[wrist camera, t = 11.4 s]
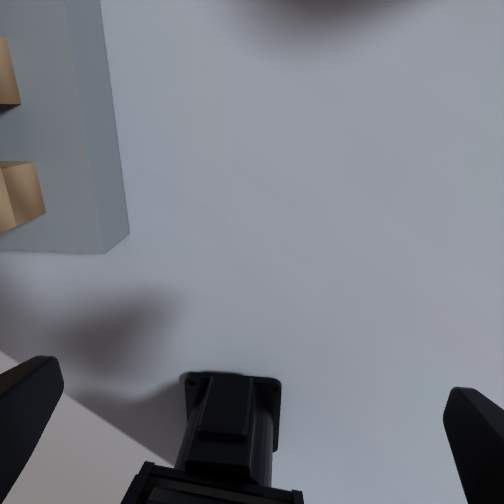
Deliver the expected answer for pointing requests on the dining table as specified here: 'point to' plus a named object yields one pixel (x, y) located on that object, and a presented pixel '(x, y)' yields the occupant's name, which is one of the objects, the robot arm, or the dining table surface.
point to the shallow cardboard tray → (16, 162)
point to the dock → (63, 126)
